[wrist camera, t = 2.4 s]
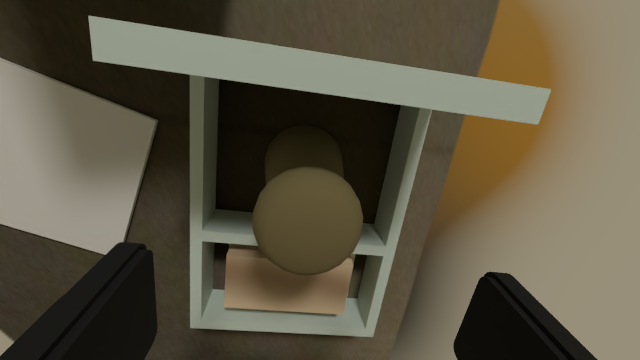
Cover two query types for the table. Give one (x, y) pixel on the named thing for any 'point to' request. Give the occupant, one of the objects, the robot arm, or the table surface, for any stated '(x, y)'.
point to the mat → (68, 160)
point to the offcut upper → (282, 284)
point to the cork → (306, 204)
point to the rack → (313, 76)
